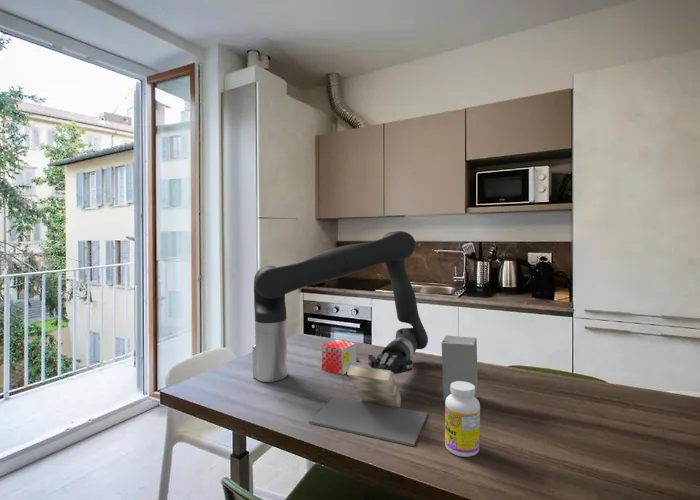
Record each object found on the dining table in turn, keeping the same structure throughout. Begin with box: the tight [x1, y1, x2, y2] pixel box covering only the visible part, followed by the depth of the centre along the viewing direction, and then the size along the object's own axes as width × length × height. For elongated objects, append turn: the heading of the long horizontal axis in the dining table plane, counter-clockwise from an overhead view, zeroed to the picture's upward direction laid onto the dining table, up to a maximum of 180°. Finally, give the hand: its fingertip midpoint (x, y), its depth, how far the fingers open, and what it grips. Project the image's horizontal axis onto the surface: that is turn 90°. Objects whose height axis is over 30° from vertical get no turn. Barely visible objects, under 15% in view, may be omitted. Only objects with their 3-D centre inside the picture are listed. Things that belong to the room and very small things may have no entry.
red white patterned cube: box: [321, 339, 357, 376], centre depth 119 cm, size 8×8×8 cm
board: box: [347, 365, 402, 408], centre depth 90 cm, size 10×2×14 cm
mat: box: [308, 395, 429, 447], centre depth 86 cm, size 24×14×1 cm, turn 67°
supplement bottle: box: [444, 381, 481, 458], centre depth 74 cm, size 7×7×13 cm
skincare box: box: [441, 335, 479, 401], centre depth 97 cm, size 8×7×16 cm
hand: (379, 373), depth 93 cm, fingers closed
